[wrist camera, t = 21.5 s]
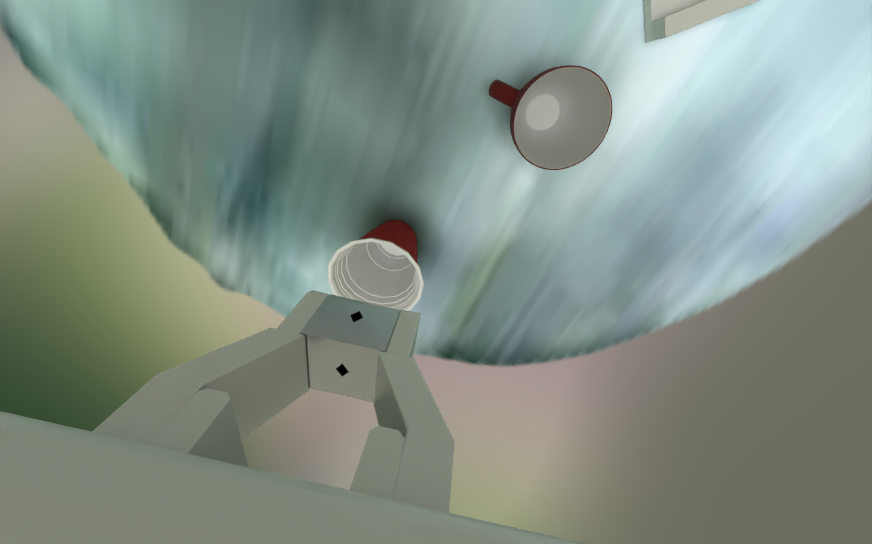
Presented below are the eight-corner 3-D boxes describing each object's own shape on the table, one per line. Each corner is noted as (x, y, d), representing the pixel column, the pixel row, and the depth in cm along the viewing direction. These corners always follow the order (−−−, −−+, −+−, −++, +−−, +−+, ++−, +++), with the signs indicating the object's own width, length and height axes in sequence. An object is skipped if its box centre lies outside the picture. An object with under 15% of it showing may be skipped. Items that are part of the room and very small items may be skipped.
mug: (474, 132, 37) (472, 147, 29) (499, 51, 33) (505, 40, 25) (559, 159, 38) (582, 181, 29) (595, 82, 33) (633, 82, 25)
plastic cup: (419, 282, 49) (402, 334, 39) (353, 253, 48) (318, 300, 38) (448, 222, 43) (438, 265, 33) (374, 188, 42) (340, 222, 32)
